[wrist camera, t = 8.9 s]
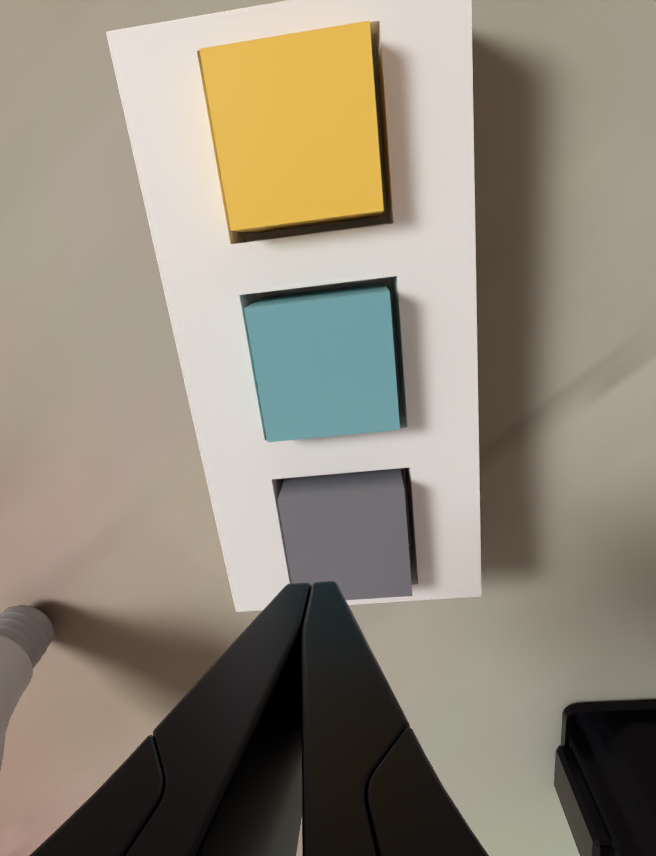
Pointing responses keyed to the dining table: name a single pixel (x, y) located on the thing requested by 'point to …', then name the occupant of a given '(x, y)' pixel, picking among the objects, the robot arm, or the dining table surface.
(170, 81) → the button panel
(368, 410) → the teal button
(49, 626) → the lightbulb
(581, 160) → the dining table surface
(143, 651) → the dining table surface
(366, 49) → the amber button
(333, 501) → the charcoal button
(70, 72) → the dining table surface
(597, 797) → the robot arm
